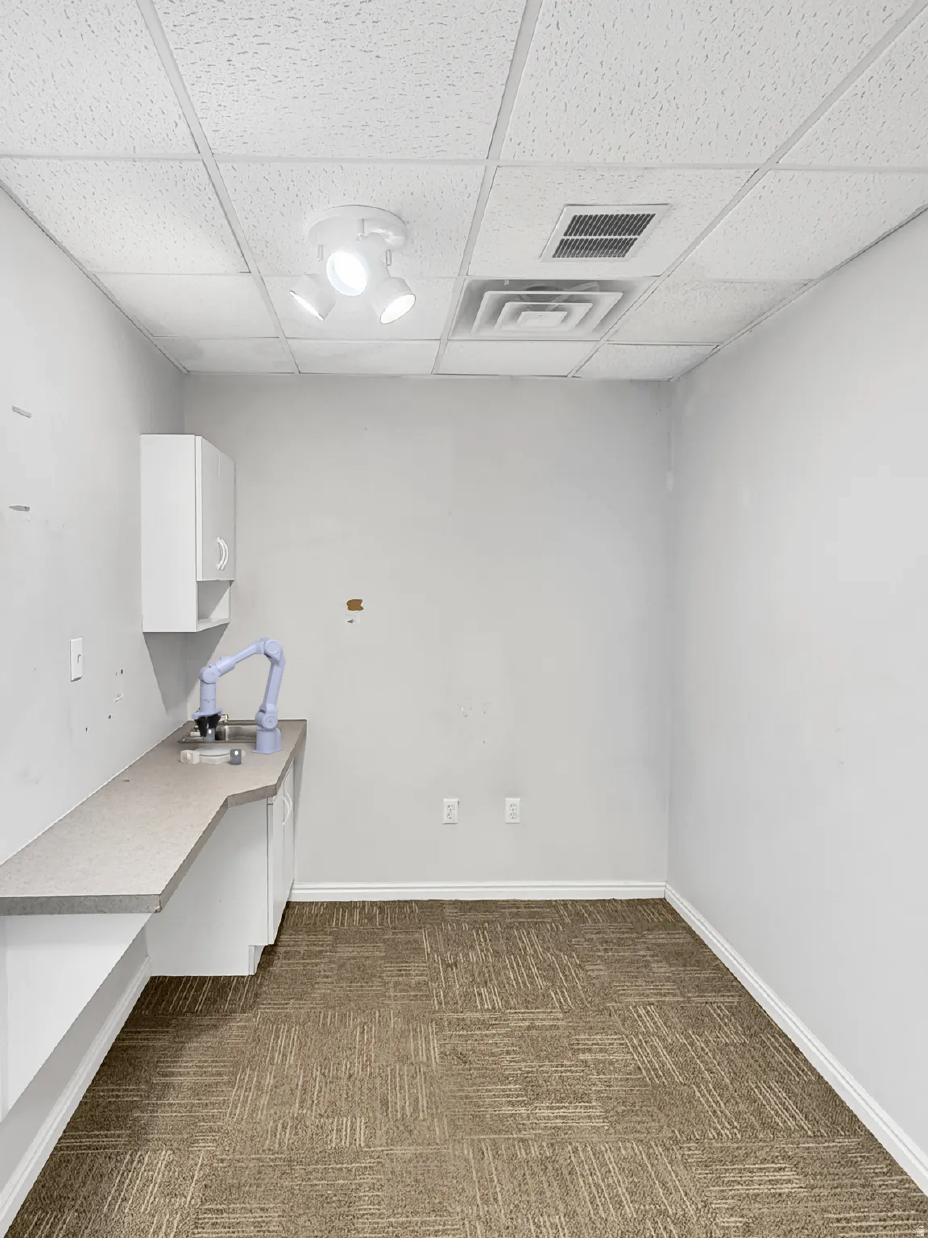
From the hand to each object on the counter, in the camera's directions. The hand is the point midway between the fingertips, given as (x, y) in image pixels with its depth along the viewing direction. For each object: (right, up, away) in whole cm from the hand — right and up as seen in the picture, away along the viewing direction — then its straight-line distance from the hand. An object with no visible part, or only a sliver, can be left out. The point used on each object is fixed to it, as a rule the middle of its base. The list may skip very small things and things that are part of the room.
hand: (207, 735), depth 312 cm
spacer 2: (+13, -9, -9) cm, 18 cm away
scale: (+2, -8, -3) cm, 9 cm away
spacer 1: (+1, -2, 0) cm, 2 cm away
